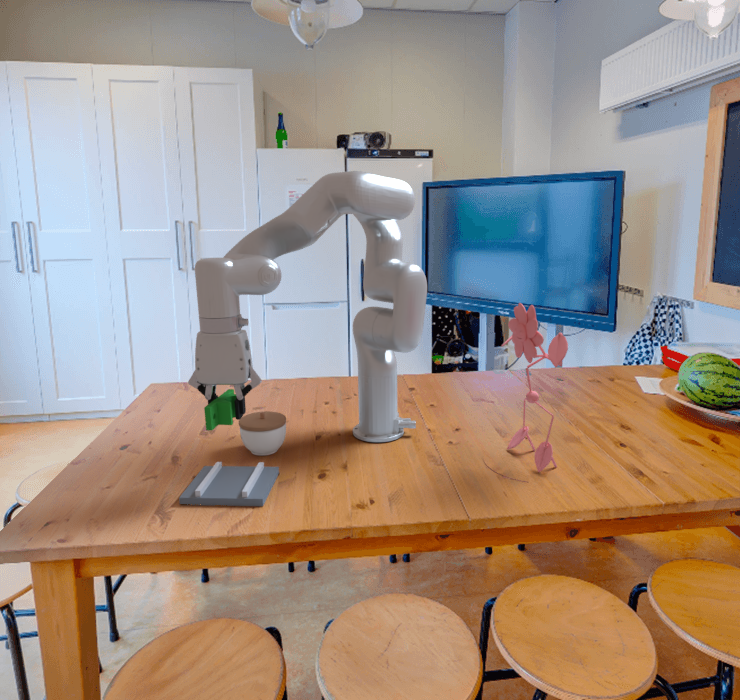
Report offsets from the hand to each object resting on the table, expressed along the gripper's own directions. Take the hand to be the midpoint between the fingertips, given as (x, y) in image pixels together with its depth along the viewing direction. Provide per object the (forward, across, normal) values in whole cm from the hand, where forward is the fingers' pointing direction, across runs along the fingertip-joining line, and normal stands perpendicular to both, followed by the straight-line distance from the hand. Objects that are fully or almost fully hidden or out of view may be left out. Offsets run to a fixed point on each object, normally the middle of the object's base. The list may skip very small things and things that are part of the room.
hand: (227, 416), depth 111 cm
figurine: (+16, -59, -14) cm, 62 cm away
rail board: (+15, 0, 0) cm, 15 cm away
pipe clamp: (+1, 0, 0) cm, 1 cm away
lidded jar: (+16, -2, -19) cm, 25 cm away
